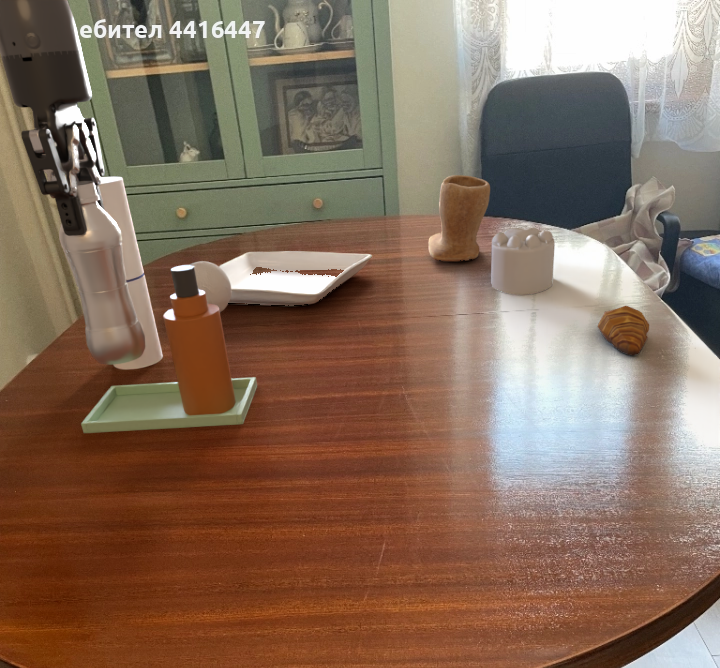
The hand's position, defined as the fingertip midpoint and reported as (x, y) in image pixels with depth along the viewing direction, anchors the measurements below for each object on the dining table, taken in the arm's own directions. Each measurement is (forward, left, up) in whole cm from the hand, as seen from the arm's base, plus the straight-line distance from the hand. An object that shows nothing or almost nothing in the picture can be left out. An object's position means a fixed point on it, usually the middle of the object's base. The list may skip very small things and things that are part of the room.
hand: (86, 227), depth 79 cm
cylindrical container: (-5, +18, -23) cm, 29 cm away
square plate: (+12, +52, -23) cm, 58 cm away
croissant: (+64, +15, -23) cm, 69 cm away
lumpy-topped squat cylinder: (+55, +45, -23) cm, 75 cm away
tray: (+5, 0, -23) cm, 23 cm away
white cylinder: (+8, +13, -23) cm, 27 cm away
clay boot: (+46, +67, -23) cm, 84 cm away
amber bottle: (+10, 0, -22) cm, 24 cm away
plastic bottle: (0, 0, -16) cm, 16 cm away
